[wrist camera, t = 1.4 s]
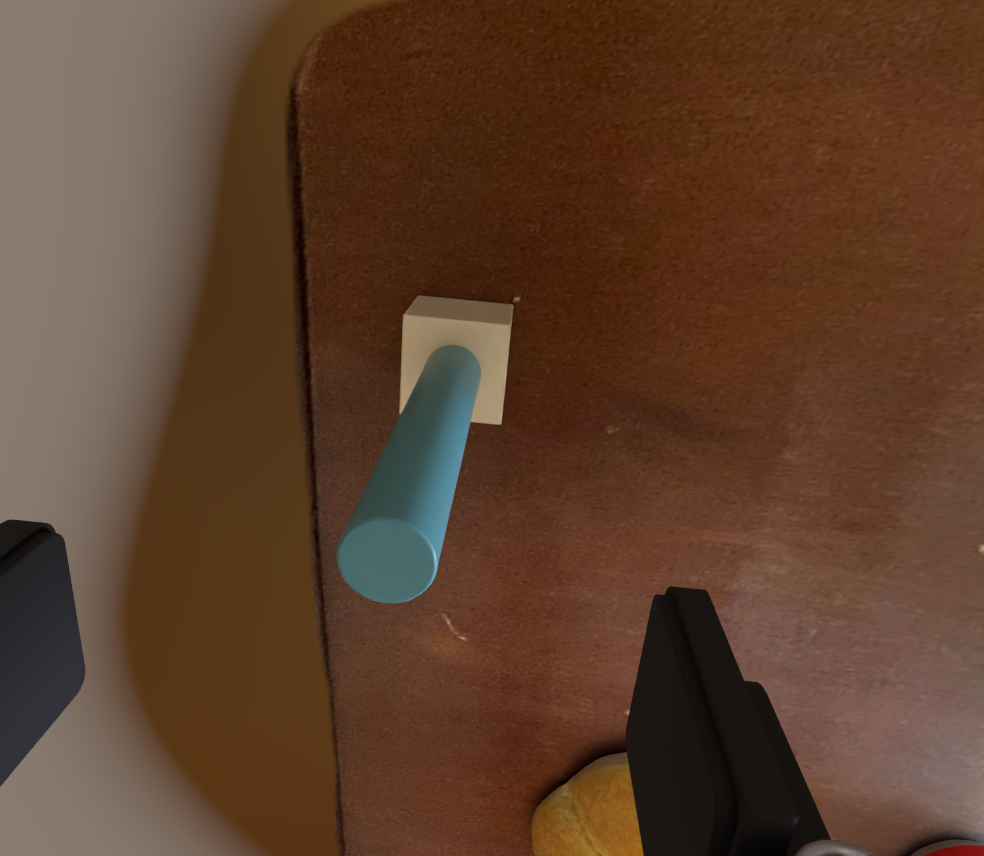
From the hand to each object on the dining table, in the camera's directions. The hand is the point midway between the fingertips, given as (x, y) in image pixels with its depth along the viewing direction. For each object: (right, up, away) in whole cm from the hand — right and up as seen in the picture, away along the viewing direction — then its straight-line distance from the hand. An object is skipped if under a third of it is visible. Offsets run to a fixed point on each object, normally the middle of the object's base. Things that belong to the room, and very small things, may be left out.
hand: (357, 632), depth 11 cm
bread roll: (+9, -15, +23) cm, 28 cm away
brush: (+1, +6, +14) cm, 16 cm away
